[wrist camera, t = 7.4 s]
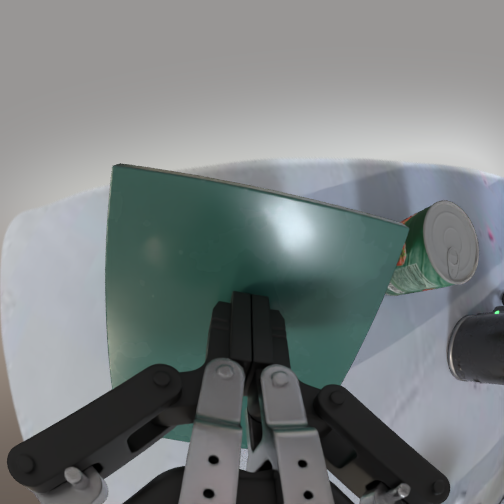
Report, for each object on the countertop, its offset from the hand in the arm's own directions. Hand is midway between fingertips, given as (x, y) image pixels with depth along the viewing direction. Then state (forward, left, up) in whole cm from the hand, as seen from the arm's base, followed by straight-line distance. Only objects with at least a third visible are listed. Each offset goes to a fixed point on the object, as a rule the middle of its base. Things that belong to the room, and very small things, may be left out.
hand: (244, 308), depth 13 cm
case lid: (+1, +2, -3) cm, 3 cm away
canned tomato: (-20, +4, -17) cm, 27 cm away
